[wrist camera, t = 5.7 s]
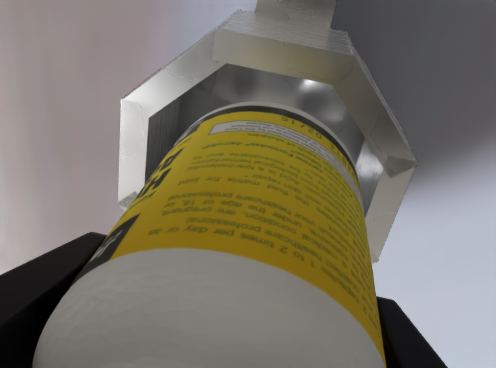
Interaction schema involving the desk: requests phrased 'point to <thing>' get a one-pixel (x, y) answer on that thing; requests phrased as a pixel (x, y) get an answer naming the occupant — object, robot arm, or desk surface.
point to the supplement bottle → (231, 258)
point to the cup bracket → (273, 99)
